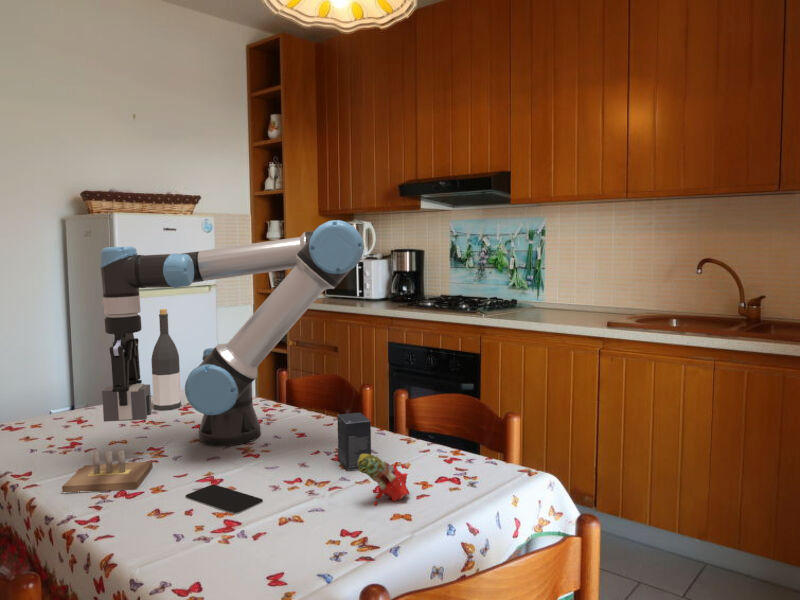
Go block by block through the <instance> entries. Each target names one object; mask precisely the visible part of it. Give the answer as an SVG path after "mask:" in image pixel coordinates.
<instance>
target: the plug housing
mask: <svg viewBox="0 0 800 600" xmlns="http://www.w3.org/2000/svg"><path fill="white" fill-rule="evenodd" d="M112 389H113V385H109V386H107V387H106V388H104V389H103V390H101V392H102V393H101V396H102V411H103V412H102V415H103V422H123V421H124V422H126V421H141V420H143V421H145V420H147V419H148V416H151V415H152V399H151V398H152V397H151V384H150V383H149V384H145V383H141V384H133V385H129V390H131V403H132V417H133V418H132V419H128V420H119V414H118V399H117V392H113V391H112Z"/></svg>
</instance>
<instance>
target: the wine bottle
mask: <svg viewBox="0 0 800 600" xmlns="http://www.w3.org/2000/svg"><path fill="white" fill-rule="evenodd" d="M158 317H159V336H158V339H157V340H156V343H155V344H154V348H153V350H152V354H151V377H152V378H151V379H152V382H151V383H152V397H153V398H152V399H153V401H152V402H153V403H152V404H153V409H154V410H155V411H162V412H163V411H172V410H176V409H180V408H181V405H182V394H181V392H182V391H181V371H180V355H179V350H178V349H177V346H176V344H175V342H174V340H173V338H172V337H171V335H170V334H169V314H168V309H167V308H161V309H159V314H158Z"/></svg>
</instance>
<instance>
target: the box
mask: <svg viewBox="0 0 800 600" xmlns="http://www.w3.org/2000/svg"><path fill="white" fill-rule="evenodd" d="M371 427H372V425H371V420H370V419H369V418H368V417H366V416H365V415H364V414H363V413H362V412H353V413H351V412H350V413H342V414H341V413H340V414H337V460H338V462H340V464H341V465H342V466H343V467H344V468H345V470H346V471H359V467H358V465H357V462H358V459H359V456H360V455H361V454H371V455H372V428H371Z"/></svg>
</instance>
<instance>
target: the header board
mask: <svg viewBox="0 0 800 600" xmlns="http://www.w3.org/2000/svg"><path fill="white" fill-rule="evenodd" d="M104 455H105V456H104V457H105V463H100V451H93V452H92V464H84V465H83V466H82V467H81V468H80V469H79V470H78V471H76V473H75V474H73V475H72V476H71V477H70V478H69V480H67V481H66V482H65V483H64V484H63V485H61V489H62V490H61V491H62V492H78V491H79V492H80V491H98V492H107V491H106V490H114V491H127V489H130V490H138V488H139V487H140V486H141V484H142V483H143V482H144V480H145V479H146V478H147V476H148V475H149V474H150V472H151V471H152V470H153V461H150V460H149V461H137V462H134V461H133V462H126V461H125V459H126V457H125V450H124V449H123V450H118V451H117V455H118V456H117V458H118V462H117V463H115V462H114V463H113V451H111V450H108V451H105V454H104ZM62 492H61V493H62Z"/></svg>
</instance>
